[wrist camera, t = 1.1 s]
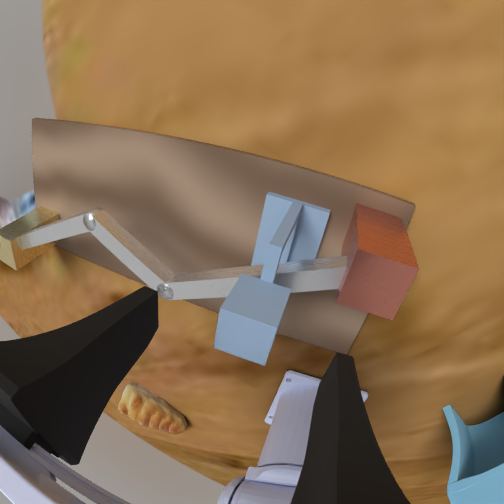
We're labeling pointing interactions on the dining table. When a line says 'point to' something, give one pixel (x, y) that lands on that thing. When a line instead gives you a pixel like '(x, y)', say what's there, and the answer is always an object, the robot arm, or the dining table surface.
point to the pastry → (150, 410)
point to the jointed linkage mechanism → (223, 280)
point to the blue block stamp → (268, 277)
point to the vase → (476, 460)
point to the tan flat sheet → (196, 209)
